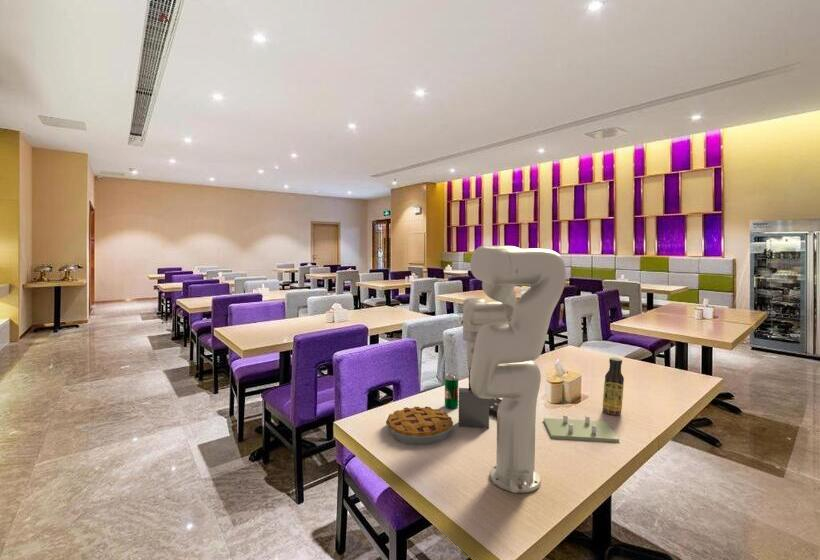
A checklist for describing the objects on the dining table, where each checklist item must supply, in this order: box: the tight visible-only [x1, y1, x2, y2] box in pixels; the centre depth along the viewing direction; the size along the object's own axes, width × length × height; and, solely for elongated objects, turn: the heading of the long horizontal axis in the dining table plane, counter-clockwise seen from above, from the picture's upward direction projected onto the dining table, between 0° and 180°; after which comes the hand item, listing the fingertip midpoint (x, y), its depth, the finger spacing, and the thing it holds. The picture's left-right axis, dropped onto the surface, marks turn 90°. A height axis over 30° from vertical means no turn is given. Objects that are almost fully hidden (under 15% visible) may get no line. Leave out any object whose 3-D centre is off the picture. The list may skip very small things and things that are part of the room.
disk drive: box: [489, 398, 502, 418], centre depth 147 cm, size 10×3×15 cm
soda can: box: [444, 373, 459, 410], centre depth 151 cm, size 5×5×12 cm
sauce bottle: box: [602, 357, 625, 416], centre depth 145 cm, size 7×6×20 cm
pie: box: [385, 406, 454, 445], centre depth 132 cm, size 22×22×5 cm
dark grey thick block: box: [458, 387, 490, 429], centre depth 135 cm, size 4×10×12 cm, turn 82°
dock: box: [543, 414, 620, 443], centre depth 131 cm, size 13×20×4 cm, turn 82°
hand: (473, 385), depth 135 cm, fingers open, 9 cm apart
